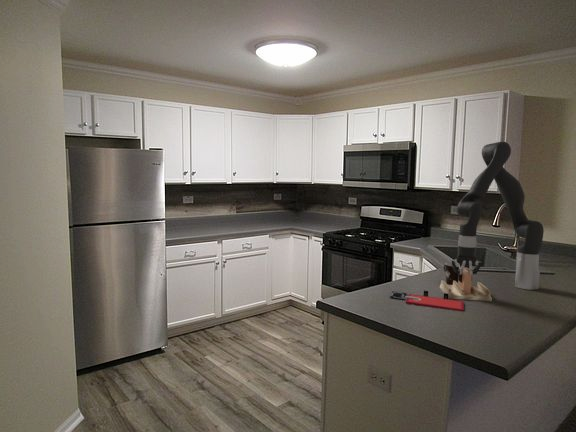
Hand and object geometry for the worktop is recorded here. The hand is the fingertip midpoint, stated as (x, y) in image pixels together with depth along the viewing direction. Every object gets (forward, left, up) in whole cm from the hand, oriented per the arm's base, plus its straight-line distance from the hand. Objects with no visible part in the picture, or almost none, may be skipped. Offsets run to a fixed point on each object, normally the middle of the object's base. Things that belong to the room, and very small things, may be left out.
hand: (464, 282), depth 180 cm
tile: (0, 0, -4) cm, 4 cm away
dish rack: (0, 0, -6) cm, 6 cm away
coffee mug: (+1, -18, -6) cm, 19 cm away
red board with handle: (+19, +14, -6) cm, 25 cm away
